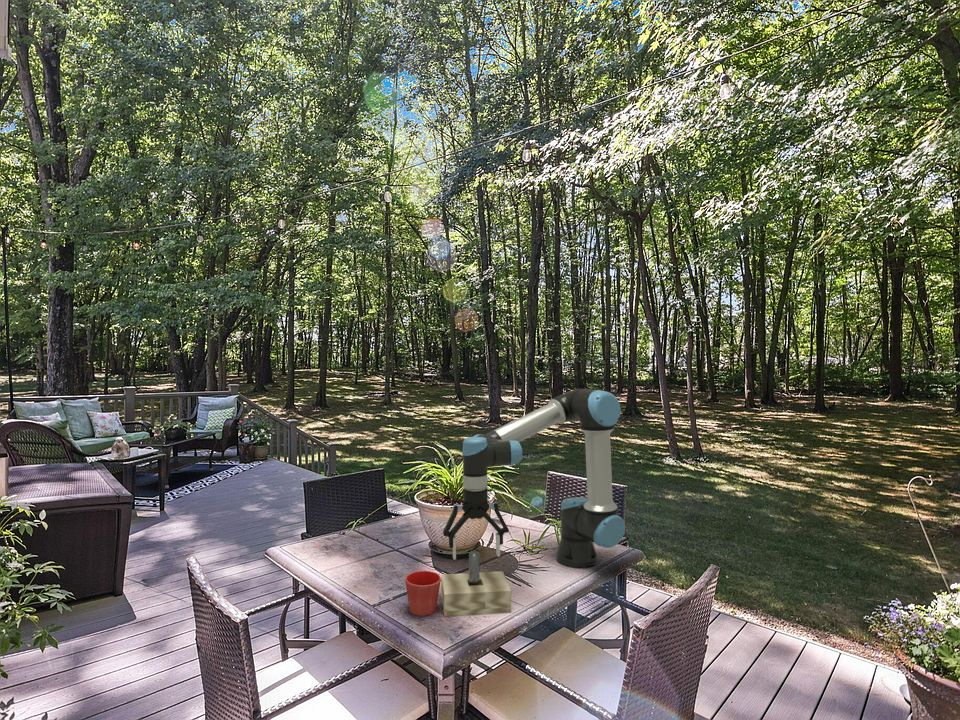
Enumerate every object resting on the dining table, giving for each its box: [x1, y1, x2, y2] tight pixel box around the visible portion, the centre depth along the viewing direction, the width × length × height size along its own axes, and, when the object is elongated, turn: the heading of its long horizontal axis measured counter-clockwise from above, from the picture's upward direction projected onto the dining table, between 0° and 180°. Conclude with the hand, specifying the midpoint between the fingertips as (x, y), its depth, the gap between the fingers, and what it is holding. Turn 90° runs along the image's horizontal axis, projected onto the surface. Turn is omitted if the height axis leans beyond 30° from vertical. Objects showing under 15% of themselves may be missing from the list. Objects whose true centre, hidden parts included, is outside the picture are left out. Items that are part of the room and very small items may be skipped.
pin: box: [468, 550, 481, 586], centre depth 162 cm, size 3×3×14 cm
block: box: [440, 570, 512, 617], centre depth 162 cm, size 20×14×6 cm
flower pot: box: [405, 570, 441, 616], centre depth 158 cm, size 11×11×10 cm
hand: (476, 556), depth 162 cm, fingers open, 13 cm apart
